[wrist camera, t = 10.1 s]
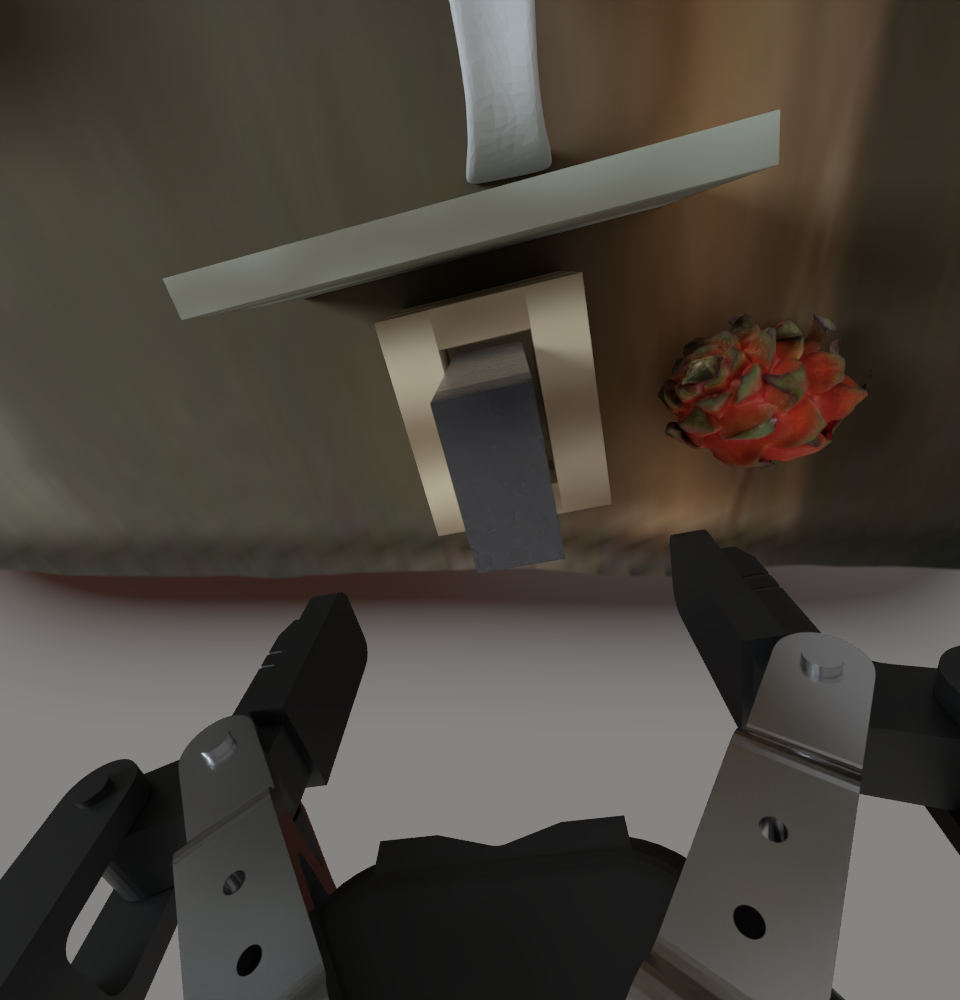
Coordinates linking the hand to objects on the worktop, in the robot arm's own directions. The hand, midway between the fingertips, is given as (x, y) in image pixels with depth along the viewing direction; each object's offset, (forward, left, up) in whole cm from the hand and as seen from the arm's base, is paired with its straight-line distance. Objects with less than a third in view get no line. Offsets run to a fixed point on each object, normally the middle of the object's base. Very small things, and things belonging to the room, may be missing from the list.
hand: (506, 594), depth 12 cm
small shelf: (-2, 0, -23) cm, 23 cm away
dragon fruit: (+3, +15, -23) cm, 28 cm away
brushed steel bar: (0, 0, -18) cm, 18 cm away
